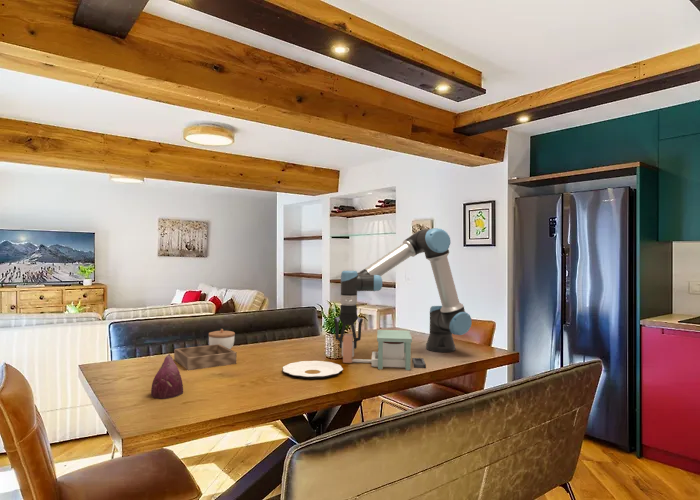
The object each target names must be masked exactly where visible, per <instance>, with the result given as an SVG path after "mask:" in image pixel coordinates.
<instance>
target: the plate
mask: <svg viewBox="0 0 700 500" xmlns="http://www.w3.org/2000/svg"><path fill="white" fill-rule="evenodd" d="M343 370H344V368H343V367H342V365H341V364H338V363H335V362H331V361H322V360H303V361H301V360H300V361H296V362H291V363H288V364H286V365H284V366H283V367H282V372H283V373H285V374H288V375H290V376H293V377H295V378H303V379H322V378H328V377H331V376H335V375H337V374H340V373H341V372H343ZM307 371H319V372H318V373H307Z"/></svg>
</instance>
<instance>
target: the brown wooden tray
mask: <svg viewBox="0 0 700 500" xmlns="http://www.w3.org/2000/svg"><path fill="white" fill-rule="evenodd" d="M173 361H174V362H176V363H177V364H179V365H180V366H181V367H183V368H185V369H186V370H187V371H193V370H201V369H207V368H208V369H209V368H215V367H223V366H228V365H236V364H237V352H236V351H234V350H233V349H232V348H231V349H229V348H226V347H224V346H222V345H220V344H216V345H210V344H208V345H198V346H191V347H190V346H189V347H180V348H175V349H174V355H173Z"/></svg>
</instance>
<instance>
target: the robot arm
mask: <svg viewBox="0 0 700 500" xmlns="http://www.w3.org/2000/svg"><path fill="white" fill-rule="evenodd" d="M450 246H451V237H450V235H449V233H448V232H447V231H446V230H444V229H442V228H438V227H437V228H436V227H433V228H423V229H420V230H418V231H416V232H415V233H413V234H412V235H410V236H409V237H407V238H406V239H404V240H403V241H402V244H400V245H398V246H397V247H396V248H394V249H393V250H391V251H389V252H388V253H387V254H384V255H383V256H382V257H381V258H379V259H377V260H376V261H374V262H372V263H371V264H370V265H368V266H367V267H365V268H363V269H362V270H360V271H359V272H358V271H357V270H342V271H341V274H340V311H339V313H340V314H339V316H338V317H334V319H333V322H334V323H335V325H334V328H335V335H334V336H335V340H337V341H338V342H339V349H341V357H343V336H344V334H345V330H346V326H347V325H348V326H350V327H351V334H353V342H352V356H353V357H355V350H356V349H357V346H358V345H357V344H358V342H359V341H361V339H362V324H363V321H364V319H363V318H362V317H358V314H357V313H358V305H357V304H358V292H379V291H381V289H382V288H383V279H382V276H383V275H385V274H386V273H388V272H390V271H391V270H392V269H394V268H395V267H397V266H398V265H400V264H402V263H403V262H405V260H408V259H409V258H410V257H415V256H417V255H419V254H421V253H424V257H425V259H426V260H428V261H429V263H430V265H431V270H432V272H433V273H432V274H433V277H434V280H435V286H436V288H437V292H438V295H439V296H438V297H439V299H440V302H441V305H432V306H430V307H429V308H430V309H429V336H428V337H427V338H428V339H427V340H426V344H425V348H426V349H425V350H428V351H430V352H431V351H432V352H435V353H436V352H437V353H451V352H455V351H456V344H455V342H454V338H453V336H454V335H456V336H462V335H465V334H467V333H469V331H470V329H471V328H472V323H473V322H472V316H471V315H470V314H469V313H468V312H466V310H465V306H464V303H461V302H460V300H459V296H458V292H457V289H456V284H455V281H454V277H453V273H452V270H451V266H450V262H449V259H448V256H449V254H450V250H449V248H450ZM356 321H357V322H358V327H357V328H358V329H357V333H358V334H357V333H356V327H355V323H356ZM339 322H341V323H342V328H341V331H340V333H339ZM339 334H340V335H339ZM356 334H357V335H356Z"/></svg>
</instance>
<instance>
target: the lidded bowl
mask: <svg viewBox="0 0 700 500" xmlns="http://www.w3.org/2000/svg"><path fill="white" fill-rule="evenodd" d="M235 335H236V333H235V332H234V331H231V330H224V329H223V328H220V330H214V331H210V332H208V345H216V344H220V345H222V346H224V347H226V348H229V349H231V350H232V348H233V346H234V344H235V338H236V337H235Z"/></svg>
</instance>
